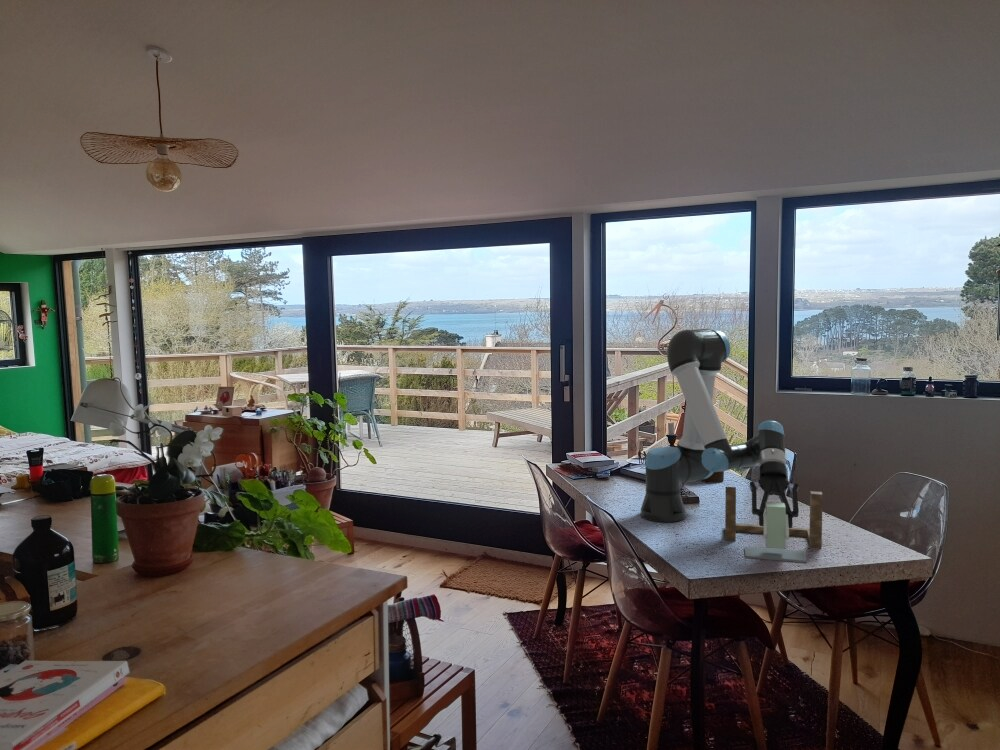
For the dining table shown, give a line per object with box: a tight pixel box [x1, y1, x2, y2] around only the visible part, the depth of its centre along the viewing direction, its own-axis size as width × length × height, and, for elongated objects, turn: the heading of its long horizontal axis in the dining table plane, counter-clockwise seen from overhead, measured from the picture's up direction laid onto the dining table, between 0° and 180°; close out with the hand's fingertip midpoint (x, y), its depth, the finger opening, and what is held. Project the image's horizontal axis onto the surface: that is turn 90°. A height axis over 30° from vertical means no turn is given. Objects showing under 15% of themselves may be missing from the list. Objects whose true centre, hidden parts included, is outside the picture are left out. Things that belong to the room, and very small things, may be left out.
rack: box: [724, 486, 824, 549], centre depth 211 cm, size 27×12×16 cm, turn 72°
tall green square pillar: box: [765, 501, 787, 550], centre depth 196 cm, size 5×5×12 cm
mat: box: [744, 546, 808, 564], centre depth 196 cm, size 16×8×1 cm, turn 72°
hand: (776, 536), depth 192 cm, fingers closed on tall green square pillar, 5 cm apart
